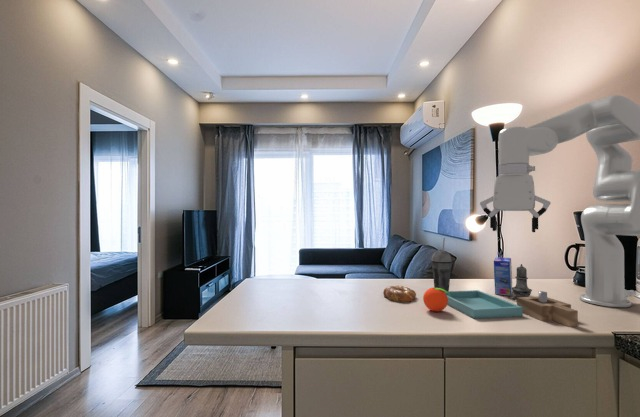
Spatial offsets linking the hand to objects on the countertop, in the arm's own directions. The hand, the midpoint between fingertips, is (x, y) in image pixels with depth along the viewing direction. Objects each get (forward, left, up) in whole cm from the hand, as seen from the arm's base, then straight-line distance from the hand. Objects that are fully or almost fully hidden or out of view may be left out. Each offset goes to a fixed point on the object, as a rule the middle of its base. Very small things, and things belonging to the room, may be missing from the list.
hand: (513, 231), depth 93 cm
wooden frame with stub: (-8, +3, -24) cm, 26 cm away
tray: (+6, -9, -24) cm, 26 cm away
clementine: (+20, -7, -24) cm, 32 cm away
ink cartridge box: (-15, -24, -24) cm, 37 cm away
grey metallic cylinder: (-8, +1, -24) cm, 25 cm away
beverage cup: (+8, -26, -24) cm, 36 cm away
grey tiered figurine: (-14, -14, -24) cm, 31 cm away
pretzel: (+25, -23, -24) cm, 42 cm away
